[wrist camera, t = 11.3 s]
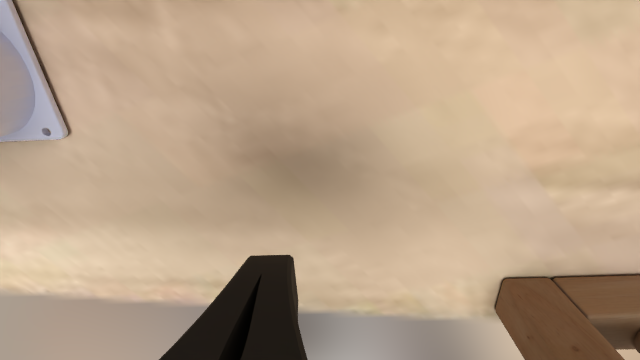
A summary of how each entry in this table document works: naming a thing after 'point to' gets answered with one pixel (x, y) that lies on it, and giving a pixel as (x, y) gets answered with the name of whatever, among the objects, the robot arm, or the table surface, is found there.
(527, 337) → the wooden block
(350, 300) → the table surface
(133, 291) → the table surface
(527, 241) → the table surface
